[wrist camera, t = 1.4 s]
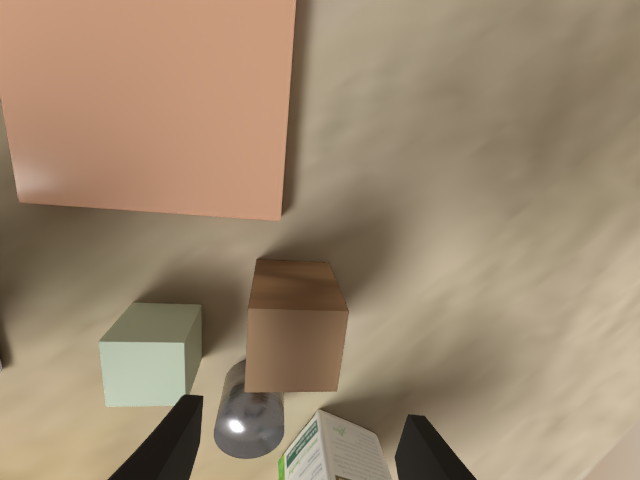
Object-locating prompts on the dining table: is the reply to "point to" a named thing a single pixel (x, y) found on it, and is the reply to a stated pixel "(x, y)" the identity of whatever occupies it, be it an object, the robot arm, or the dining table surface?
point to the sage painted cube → (151, 354)
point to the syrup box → (333, 452)
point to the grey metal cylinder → (248, 418)
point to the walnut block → (294, 328)
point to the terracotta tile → (148, 103)
